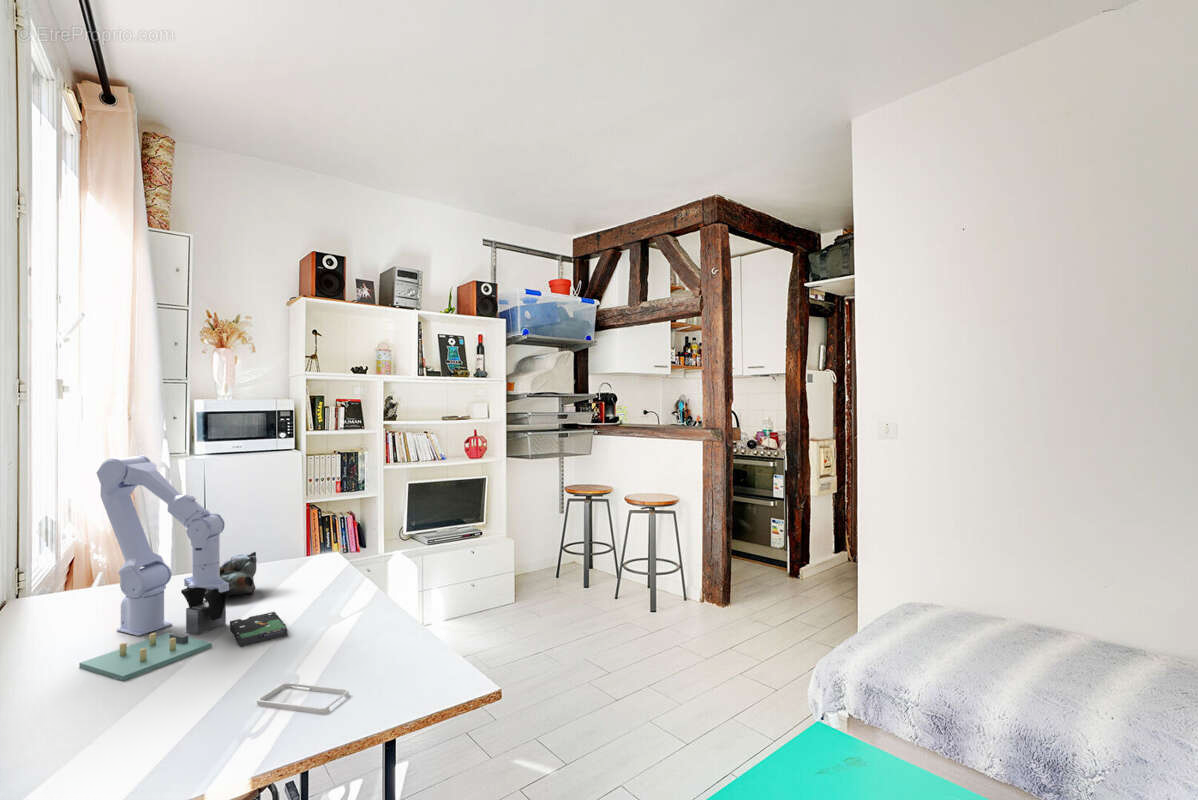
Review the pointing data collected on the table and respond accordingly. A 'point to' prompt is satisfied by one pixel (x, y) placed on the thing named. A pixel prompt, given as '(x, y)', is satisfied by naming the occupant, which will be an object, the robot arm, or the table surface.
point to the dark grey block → (202, 619)
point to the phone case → (301, 707)
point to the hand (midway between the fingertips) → (206, 616)
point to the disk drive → (258, 629)
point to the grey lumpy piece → (239, 574)
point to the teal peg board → (145, 655)
